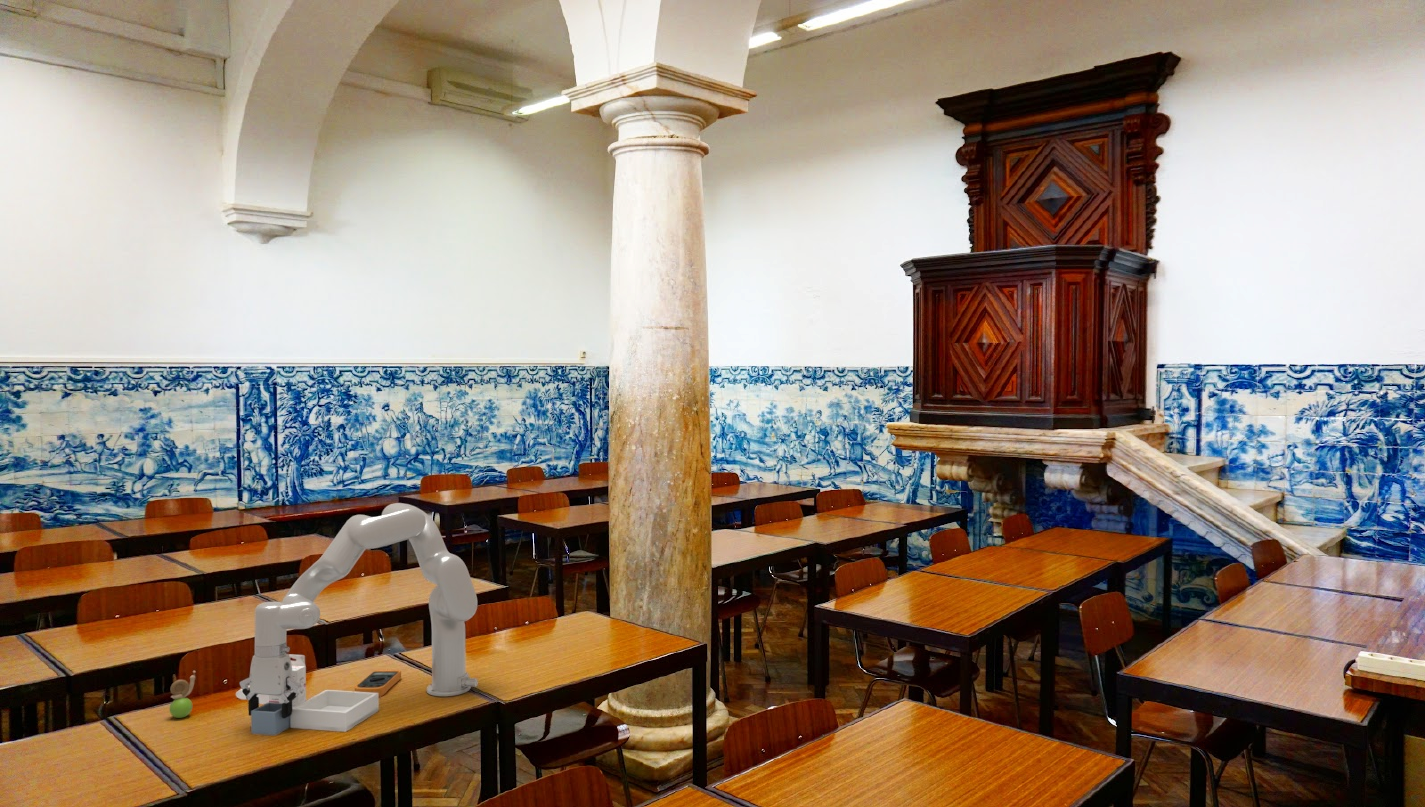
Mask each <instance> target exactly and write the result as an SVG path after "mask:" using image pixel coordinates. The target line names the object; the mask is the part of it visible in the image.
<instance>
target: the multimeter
mask: <svg viewBox="0 0 1425 807" xmlns="http://www.w3.org/2000/svg"><path fill="white" fill-rule="evenodd" d="M401 678H402V670H400V669H375V670H373V671H372V672H371V673H370V674H369V675H368V676H366V677H365V678H364V679H363V680H362V681H360V682H358V683H357V685H355V686H354V691H355V692H371V693H379V698H381V697H384V696H385V694H386V693H387V692H388V691H389V690H390V689H391V688H392V687H394V686H395V685H396V684H397V683H398V682H400V681H401Z"/></svg>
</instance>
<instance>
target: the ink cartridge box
mask: <svg viewBox="0 0 1425 807" xmlns="http://www.w3.org/2000/svg"><path fill="white" fill-rule="evenodd" d="M288 654H289V656H290V659H291V658H292V659H293V660H291V665H292V674H293V680H294V681H296V682H297V683H299V684H300V685H301V689H300V691H299V693H298V695H297V696H296V697H295V699H294V700H292V708H293V707H295V706H297V705H299V704H301V703H302V702H304V701H306V700H307V684H306V683H307V679H306V678H307V675H306V674H307V673H306V672H307V667H306V656H305V655H304V654H290V653H288ZM290 691H291V693H292V692H293V689H292V690H290ZM286 696H287V695H286ZM287 697H288V696H287ZM269 702H273V703H284V701H283V700H282V698H281V697H280V695H269Z"/></svg>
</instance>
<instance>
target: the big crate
mask: <svg viewBox="0 0 1425 807" xmlns="http://www.w3.org/2000/svg"><path fill="white" fill-rule="evenodd" d="M379 698H380V697H379V693H371V692H355V690H354V691H351V690H339V689H338V690H337V689H325V690H323V691H321V692H320V693H318V694H316V695H314V696H311V697H309V698H308V699H306V701H304V702H302V703H301V704H299V705H297V706H295V707H293V708H292V714H291V715H290V720H291V727H290V728H291V729H301V730H315V731H316V730H317V731H328V732H329V731H330V732H344V733H346V732H347V731H350V730H351V729H353V728H354V727H356V726H357V725H359V724H360V723H362V722H364V721H365V720H367V719H368V718H370V717H372V716H373V715H374V714H377V712H379V707H380V706H379V704H380V703H379V702H380V700H379Z"/></svg>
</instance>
